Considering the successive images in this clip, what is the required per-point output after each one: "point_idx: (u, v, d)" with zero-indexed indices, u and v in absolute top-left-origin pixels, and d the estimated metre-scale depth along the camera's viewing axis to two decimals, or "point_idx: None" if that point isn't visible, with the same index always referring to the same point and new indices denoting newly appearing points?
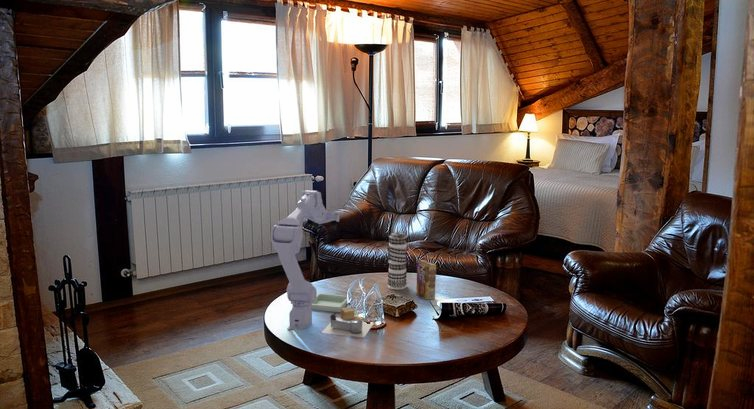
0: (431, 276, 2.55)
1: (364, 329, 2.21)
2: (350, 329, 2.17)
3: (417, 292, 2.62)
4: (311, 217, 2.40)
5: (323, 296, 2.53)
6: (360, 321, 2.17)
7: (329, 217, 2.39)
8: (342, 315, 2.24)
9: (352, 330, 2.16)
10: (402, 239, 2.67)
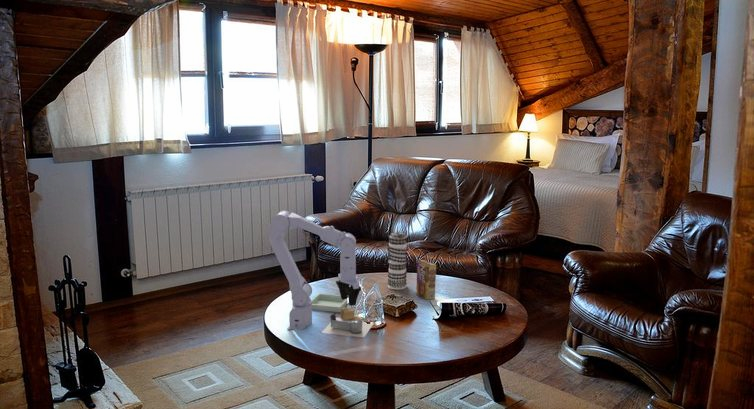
0: (431, 276, 2.55)
1: (364, 329, 2.21)
2: (350, 329, 2.17)
3: (417, 292, 2.62)
4: None
5: (323, 296, 2.53)
6: (360, 321, 2.17)
7: (351, 281, 2.19)
8: (342, 315, 2.24)
9: (352, 330, 2.16)
10: (402, 239, 2.67)
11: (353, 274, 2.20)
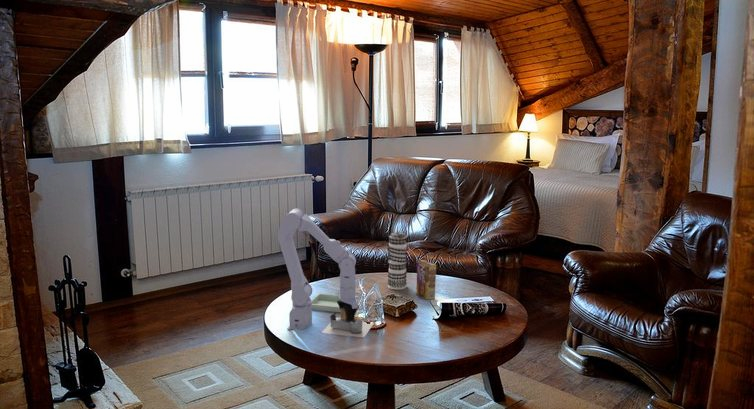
0: (431, 276, 2.55)
1: (364, 329, 2.21)
2: (350, 329, 2.17)
3: (417, 292, 2.62)
4: None
5: (323, 296, 2.53)
6: (360, 321, 2.17)
7: (350, 301, 2.20)
8: (342, 315, 2.24)
9: (352, 330, 2.16)
10: (402, 239, 2.67)
11: (352, 293, 2.21)
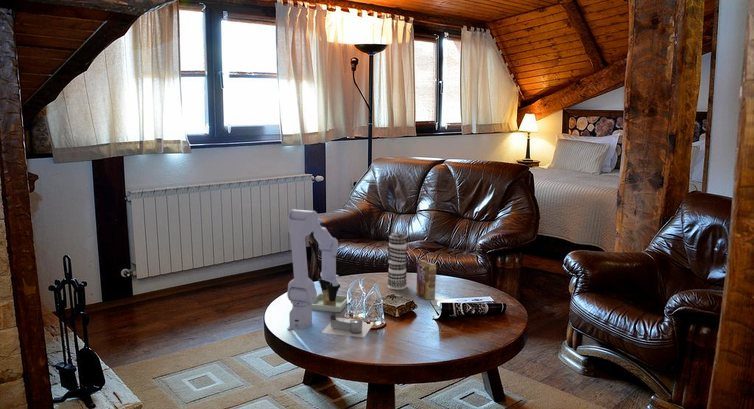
0: (431, 276, 2.55)
1: (364, 329, 2.21)
2: (350, 329, 2.17)
3: (417, 292, 2.62)
4: None
5: None
6: (360, 321, 2.17)
7: (331, 279, 2.41)
8: (324, 296, 2.45)
9: (352, 330, 2.16)
10: (402, 239, 2.67)
11: (333, 273, 2.42)
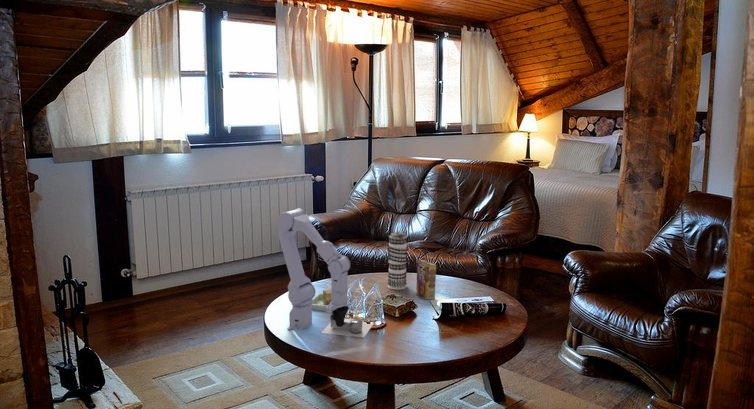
0: (431, 276, 2.55)
1: (364, 329, 2.21)
2: (350, 329, 2.17)
3: (417, 292, 2.62)
4: None
5: None
6: (360, 321, 2.17)
7: (333, 305, 2.14)
8: (324, 296, 2.45)
9: (352, 330, 2.16)
10: (402, 239, 2.67)
11: (337, 298, 2.13)
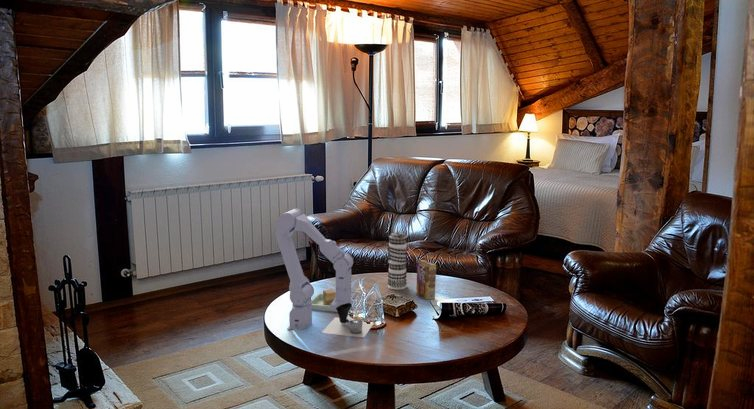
0: (431, 276, 2.55)
1: (364, 329, 2.21)
2: None
3: (417, 292, 2.62)
4: None
5: None
6: (359, 322, 2.17)
7: (337, 302, 2.17)
8: (324, 296, 2.45)
9: (350, 329, 2.17)
10: (402, 239, 2.67)
11: (341, 295, 2.17)
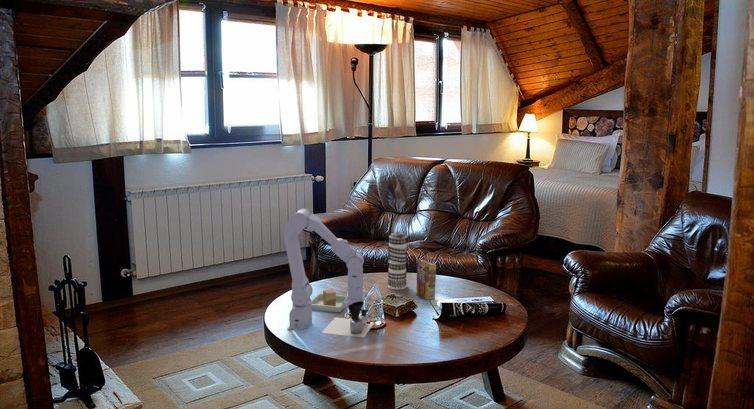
0: (431, 276, 2.55)
1: (364, 329, 2.21)
2: None
3: (417, 292, 2.62)
4: None
5: None
6: (357, 323, 2.16)
7: (349, 300, 2.19)
8: (324, 296, 2.45)
9: None
10: (402, 239, 2.67)
11: (353, 293, 2.19)
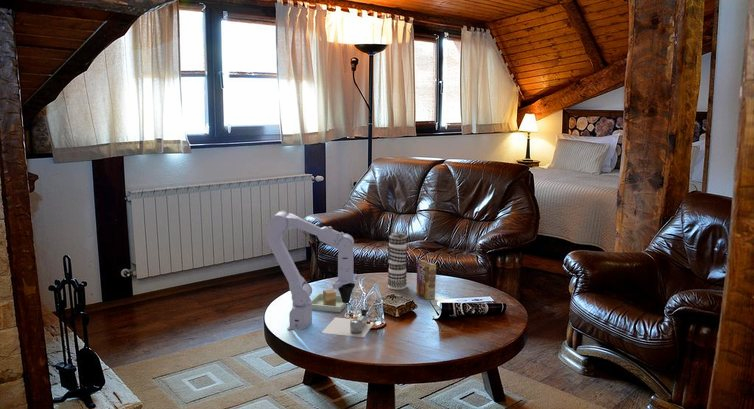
0: (431, 276, 2.55)
1: (364, 329, 2.21)
2: None
3: (417, 292, 2.62)
4: None
5: None
6: (357, 323, 2.16)
7: (339, 282, 2.20)
8: (324, 296, 2.45)
9: None
10: (402, 239, 2.67)
11: (344, 275, 2.19)
